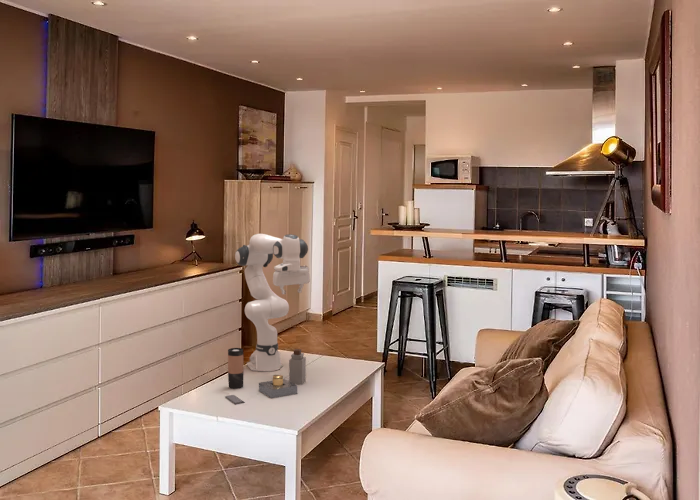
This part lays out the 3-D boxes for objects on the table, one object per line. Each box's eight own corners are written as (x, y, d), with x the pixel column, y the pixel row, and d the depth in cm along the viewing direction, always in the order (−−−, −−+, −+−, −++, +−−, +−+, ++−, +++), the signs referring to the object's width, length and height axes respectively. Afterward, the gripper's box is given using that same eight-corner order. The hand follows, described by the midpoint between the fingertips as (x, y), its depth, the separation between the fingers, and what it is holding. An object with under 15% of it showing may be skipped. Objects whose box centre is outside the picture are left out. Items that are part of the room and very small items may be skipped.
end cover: (271, 391, 327) (271, 375, 326) (280, 390, 330) (280, 374, 329) (275, 394, 323) (275, 378, 322) (284, 392, 326) (284, 376, 325)
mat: (225, 397, 320) (225, 396, 320) (248, 393, 327) (248, 392, 327) (235, 404, 310) (235, 402, 310) (258, 400, 317) (258, 398, 317)
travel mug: (246, 387, 337) (246, 348, 336) (239, 391, 330) (238, 351, 328) (232, 385, 340) (232, 347, 338) (225, 390, 333) (224, 350, 331)
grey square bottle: (302, 386, 339) (302, 351, 338) (289, 385, 341) (289, 351, 339) (305, 382, 346) (305, 348, 344) (293, 382, 347) (293, 348, 346)
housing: (258, 392, 329) (258, 382, 328) (284, 388, 336) (284, 378, 336) (271, 400, 317) (271, 390, 316) (297, 395, 324) (297, 385, 324)
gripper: (305, 264, 350) (305, 290, 351) (271, 267, 338) (271, 294, 339) (312, 265, 345) (312, 292, 346) (277, 268, 333) (277, 295, 334)
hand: (291, 293), depth 343 cm, fingers open, 8 cm apart
